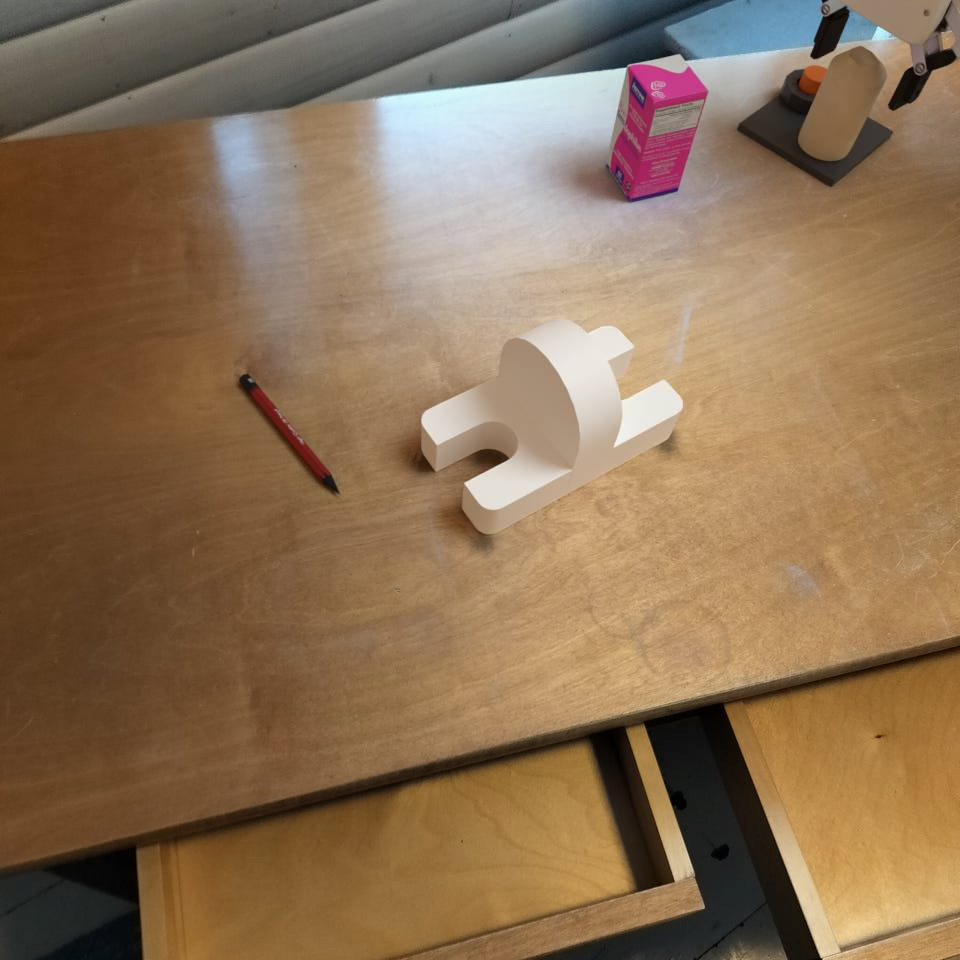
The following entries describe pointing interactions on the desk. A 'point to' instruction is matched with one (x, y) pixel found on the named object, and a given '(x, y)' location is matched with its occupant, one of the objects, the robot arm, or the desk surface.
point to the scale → (782, 127)
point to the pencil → (288, 431)
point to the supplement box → (655, 126)
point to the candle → (842, 104)
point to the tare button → (812, 79)
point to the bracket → (547, 421)
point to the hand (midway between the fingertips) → (859, 78)
